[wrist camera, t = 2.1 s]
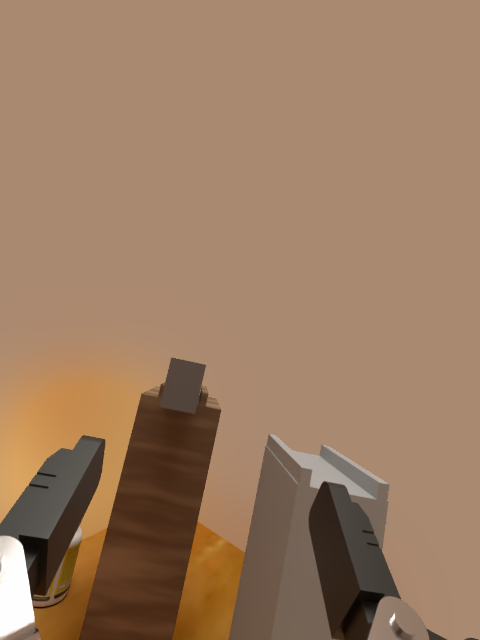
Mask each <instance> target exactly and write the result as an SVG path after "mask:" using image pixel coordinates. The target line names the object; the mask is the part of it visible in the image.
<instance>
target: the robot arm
mask: <svg viewBox="0 0 480 640" xmlns="http://www.w3.org/2000/svg"><path fill="white" fill-rule="evenodd" d="M104 449H105V439H101V438H96V437H90V436H85V435H83V436H82V437H81V438H80V440H79V441H78V443H77V444H76V446H75V447H74V449H73V450H70V449H63V448H62V449H60V450H58V451H57V452H56V453H54V454H53V455H51V456H50V457H49V458H47V460H46V461H45V462H44V464H43V465H42V467H41V468H40V469H39V471H38V472H37V475H35V476H34V478H33V479H32V481H31V482H30V484H29V486H27V487H26V489H25V490H24V492H23V493H22V495H21V496H20V497H19V499H18V500H17V501H16V503H15V504H14V506H13V507H12V508H11V510H10V511H9V513H8V514H7V515H6V517H5V518H4V520H3V521H2V522H1V524H0V640H41V638H40V634H39V631H38V629H37V628H36V625H35V620H34V613H33V607H32V601H31V599H32V598H33V596H34V595H41V596H46V594H47V592H48V590H49V587H50V585H51V583H52V581H53V579H54V577H55V575H56V573H57V571H58V569H59V566H60V564H61V562H62V560H63V558H64V556H65V554H66V552H67V550H68V548H69V546H70V543H71V541H72V539H73V537H74V535H75V533H76V531H77V529H78V527H79V525H80V523H81V520H82V518H83V516H84V514H85V512H86V510H87V508H88V506H89V504H90V502H91V500H92V497H93V495H94V493H95V491H96V489H97V486H98V483H99V480H100V477H101V473H102V465H103V457H104ZM308 523H309V531H310V536H311V541H312V546H313V550H314V555H315V560H316V565H317V570H318V575H319V579H320V584H321V589H322V594H323V599H324V603H325V608H326V613H327V618H328V623H329V627H330V632H331V637H332V639H337V640H446V639H445V638H443V637H441V636H439V635H437V634H435V633H433V632H431V631H430V630H428V629H426V627H425V625H424V623H423V622H422V620H421V618H420V617H419V616H418V614H417V613H416V612H415V611H414V610H413V609H412V608H411V607H410V606H409V605H408V604H407V603H405V602H404V601H402V600H401V598H400V596H399V593H398V591H397V588H396V586H395V583H394V580H393V578H392V575H391V573H390V571H389V568H388V565H387V563H386V561H385V558H384V555H383V553H382V550H381V548H379V543H378V540H377V538H376V535H374V530H373V528H372V525H371V523H370V520H369V518H368V516H367V515H366V513H365V512H364V511H363V509H362V508H361V507H360V505H359V504H358V503H355V502H352V501H351V498H350V495H349V493H348V490H347V488H346V486H345V485H343V484H337V483H332V482H327V481H324V482H323V483H322V484H321V486H320V488H319V491H318V493H317V495H316V497H315V500H314V502H313V504H312V506H311V509H310V512H309V520H308ZM465 640H478V639H474V638H467V639H465Z"/></svg>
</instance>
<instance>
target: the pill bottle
mask: <svg viewBox="0 0 480 640" xmlns="http://www.w3.org/2000/svg"><path fill="white" fill-rule="evenodd" d="M81 539H82V531H81V528H80V527H78V529H77V531H76V533H75V535H74V537H73V539H72V541H71V543H70V546H69V548H68V550H67V552H66V554H65V556H64V558H63V560H62V562H61V564H60V566H59V569H58V571H57V573H56V575H55V577H54V579H53V581H52V583H51V585H50V587H49V590H48V592H47V594H46V596H41V595H34V596H33V598H32V599H31V601H32V606H35V607H45V606H50V605H53V604H55V603H57V602H59V601H61V600H62V599H63V598H64V597H65V596H66V594H67V592H68V590H69V586H70V582H71V578H72V575H73V571H74V567H75V563H76V559H77V555H78V551H79V547H80V543H81Z"/></svg>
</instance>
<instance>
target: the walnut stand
mask: <svg viewBox="0 0 480 640" xmlns="http://www.w3.org/2000/svg"><path fill="white" fill-rule="evenodd" d="M164 386H165V382H164V383H162V384H161V386H160V387H155V388H153V389H151V390H149V391H146V392H144V393H142V394H141V398H140V402H139V406H138V410H137V414H136V418H135V422H134V426H133V430H132V434H131V438H130V441H129V445H128V450H127V453H126V457H125V461H124V465H123V469H122V473H121V478H120V481H119V485H118V489H117V493H116V497H115V501H114V504H113V508H112V513H111V516H110V521H109V524H108V528H107V532H106V536H105V540H104V544H103V548H102V552H101V556H100V560H99V564H98V567H97V571H96V575H95V579H94V583H93V587H92V591H91V595H90V599H89V603H88V607H87V611H86V615H85V619H84V623H83V627H82V631H81V634H80V638H79V640H172V637H173V632H174V628H175V623H176V618H177V614H178V609H179V604H180V600H181V595H182V590H183V586H184V581H185V576H186V572H187V567H188V562H189V558H190V553H191V548H192V544H193V539H194V534H195V530H196V525H197V520H198V516H199V511H200V506H201V502H202V497H203V492H204V488H205V483H206V478H207V474H208V469H209V464H210V459H211V455H212V450H213V446H214V441H215V436H216V431H217V427H218V423H219V417H220V413H221V409H220V407H219V404H218V402H217V400H216V399H214V398H209V397H208V391H207V387H204V386H202V388H201V392H200V395H199V398H198V402H197V407H196V411H195V414H192V413H187V412H182V411H177V410H172V409H167V408H162V407H159V406H160V402H161V398H162V394H163V390H164Z"/></svg>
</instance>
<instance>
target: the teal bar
mask: <svg viewBox="0 0 480 640" xmlns="http://www.w3.org/2000/svg"><path fill="white" fill-rule="evenodd" d="M205 367H206V365H203V364H199V363H194V362H189V361H185V360H180V359H176V358H171V362H170V365H169V370H168V374H167V378H166V382H165V386H164V390H163V394H162V398H161V402H160V406H159V407H162V408H167V409H172V410H177V411H182V412H187V413H192V414H195V411H196V407H197V402H198V398H199V394H200V389H201V385H202V380H203V376H204V371H205Z"/></svg>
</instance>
